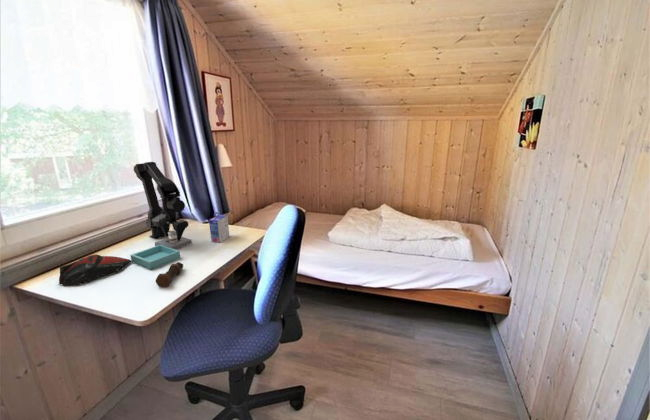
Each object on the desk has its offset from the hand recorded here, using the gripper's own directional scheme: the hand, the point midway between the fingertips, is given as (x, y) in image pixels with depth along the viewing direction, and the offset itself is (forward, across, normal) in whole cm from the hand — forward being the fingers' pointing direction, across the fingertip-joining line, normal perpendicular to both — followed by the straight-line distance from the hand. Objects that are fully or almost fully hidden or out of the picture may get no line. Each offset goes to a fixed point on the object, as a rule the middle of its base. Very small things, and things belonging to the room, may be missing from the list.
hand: (173, 238), depth 156 cm
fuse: (+4, 0, 0) cm, 4 cm away
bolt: (+4, +29, -21) cm, 36 cm away
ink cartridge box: (+4, +13, +18) cm, 23 cm away
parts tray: (+4, +9, -15) cm, 18 cm away
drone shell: (+4, 0, -35) cm, 35 cm away
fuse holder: (+4, 0, 0) cm, 4 cm away
